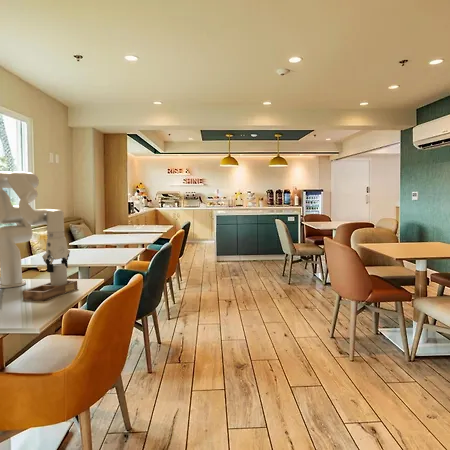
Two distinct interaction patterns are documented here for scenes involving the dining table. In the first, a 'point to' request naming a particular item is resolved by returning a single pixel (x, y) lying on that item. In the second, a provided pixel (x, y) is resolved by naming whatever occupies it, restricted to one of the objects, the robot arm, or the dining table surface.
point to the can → (58, 275)
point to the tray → (48, 291)
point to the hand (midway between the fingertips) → (57, 270)
